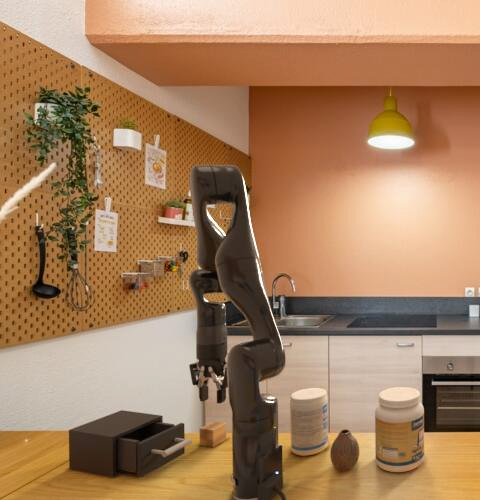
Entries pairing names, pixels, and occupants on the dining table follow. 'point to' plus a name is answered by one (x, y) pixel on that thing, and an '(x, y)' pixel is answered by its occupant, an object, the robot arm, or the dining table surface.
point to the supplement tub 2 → (399, 429)
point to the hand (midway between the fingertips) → (212, 401)
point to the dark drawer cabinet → (103, 441)
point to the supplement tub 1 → (309, 421)
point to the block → (212, 434)
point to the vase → (344, 451)
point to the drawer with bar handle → (150, 447)
